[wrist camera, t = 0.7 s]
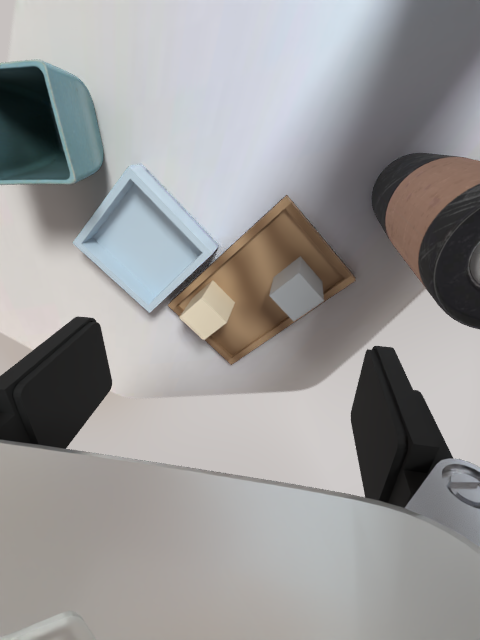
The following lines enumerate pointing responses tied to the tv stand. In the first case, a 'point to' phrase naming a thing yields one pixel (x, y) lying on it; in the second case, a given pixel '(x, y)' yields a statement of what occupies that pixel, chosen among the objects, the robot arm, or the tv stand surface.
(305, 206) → the tv stand surface
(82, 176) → the flower pot
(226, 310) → the cream rectangular block
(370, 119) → the tv stand surface
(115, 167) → the tv stand surface
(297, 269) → the gray block
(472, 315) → the travel mug
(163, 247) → the light blue tray
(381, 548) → the robot arm
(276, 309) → the walnut tray
